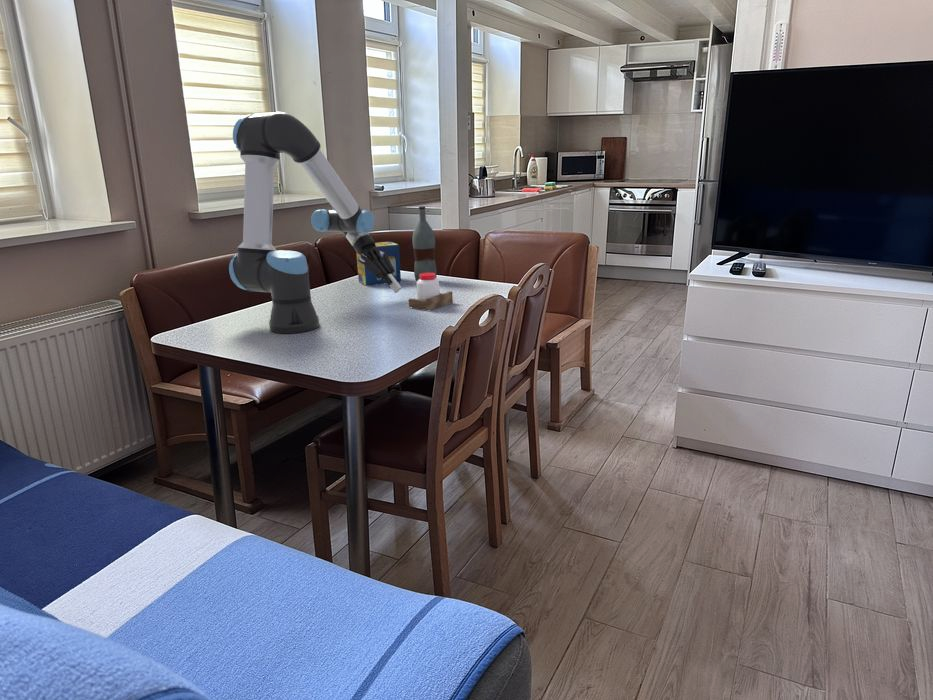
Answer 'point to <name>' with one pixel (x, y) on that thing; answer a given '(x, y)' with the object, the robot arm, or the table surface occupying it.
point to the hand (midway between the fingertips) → (398, 290)
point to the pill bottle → (427, 286)
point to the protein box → (393, 255)
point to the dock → (432, 301)
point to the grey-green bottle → (423, 246)
